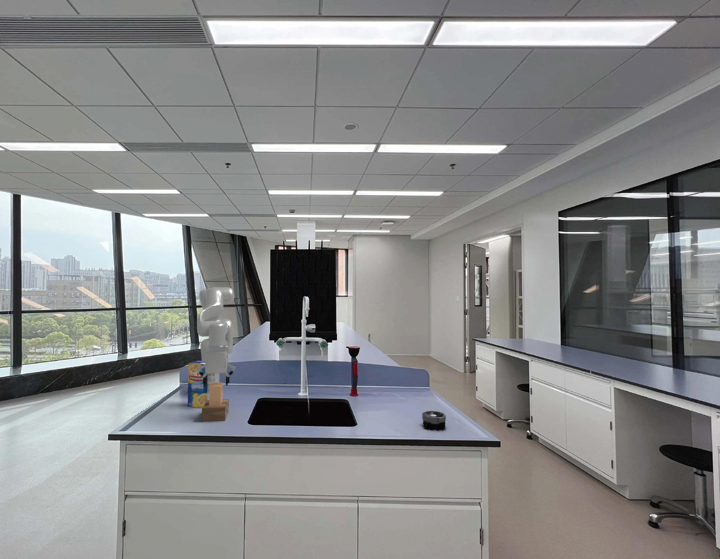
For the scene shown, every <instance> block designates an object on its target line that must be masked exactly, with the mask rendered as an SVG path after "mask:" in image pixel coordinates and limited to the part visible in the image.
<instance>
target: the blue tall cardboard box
mask: <svg viewBox="0 0 720 559" xmlns="http://www.w3.org/2000/svg"><path fill="white" fill-rule="evenodd" d="M204 364H205V361H202V360H193V361H192V362H188V367H187V368H188V369H187V370H188V372H187V373H188V374H187V377H188V378H187V407H189V408H201V409H202V408H203V406H204V405H205V403H206V401H207V400H209V386H210V385H211V383H215V374H207V375H206V376H207V385H206V386H204V384H203V377H202V376H201V375H200V374H199V372H198V370H197V368H198V367H200V366H202V365H204ZM201 371H202V372H203V373H205V367H204V368H202V369H201Z"/></svg>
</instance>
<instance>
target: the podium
mask: <svg viewBox="0 0 720 559" xmlns="http://www.w3.org/2000/svg"><path fill="white" fill-rule="evenodd" d="M229 402H230V399H229V398H224V399H223V401H222V403H221V405H220V406H209V400H207V401H206V403H205V405H204V406H203V408H201V422H202V423H205V422H206V423H207V422H210V423H211V422H222V421H223V422H224V421H226V419H227V416H228V414H229V411H230V410H229V409H230V407H229V404H230V403H229Z"/></svg>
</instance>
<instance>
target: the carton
mask: <svg viewBox="0 0 720 559" xmlns="http://www.w3.org/2000/svg"><path fill="white" fill-rule="evenodd" d="M223 392H224V383H223V382H222V381H221V382H219V383H211V385H210V386H209V406H220V405H221V403H222V401H223V396H224V394H223Z"/></svg>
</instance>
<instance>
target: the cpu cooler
mask: <svg viewBox="0 0 720 559" xmlns="http://www.w3.org/2000/svg"><path fill="white" fill-rule="evenodd" d="M421 414H422V416H421V419H422V425H423V429H424V430H433V431H445V430H446V419H447V418H446V417H447V416H446V414H445V413H444V412H441V411H438V410H437V411H436V410H426V411H423V412H422V413H421Z"/></svg>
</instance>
